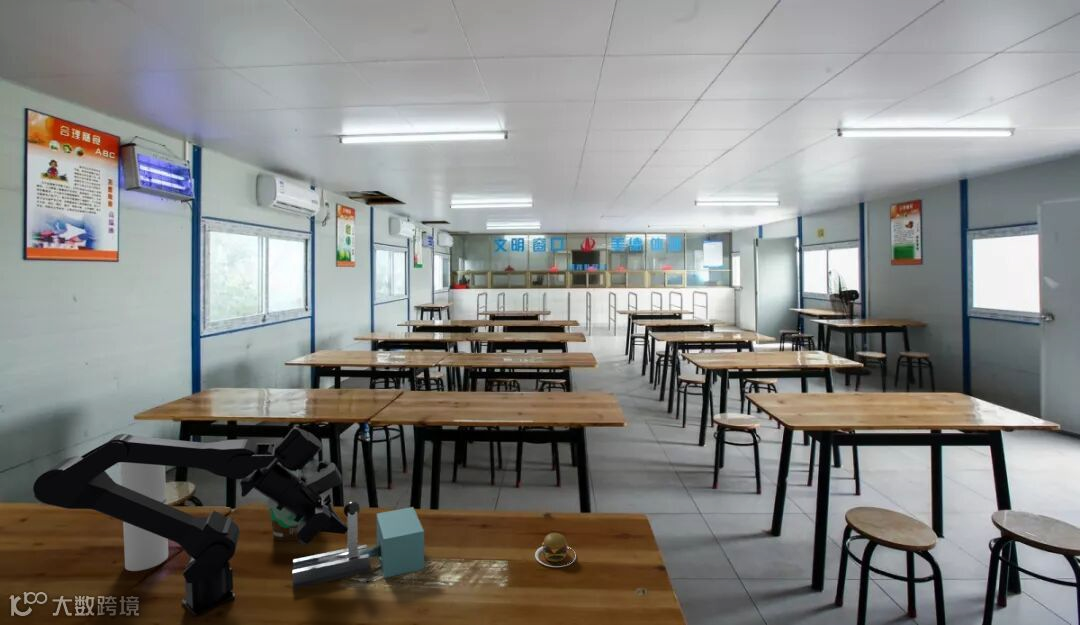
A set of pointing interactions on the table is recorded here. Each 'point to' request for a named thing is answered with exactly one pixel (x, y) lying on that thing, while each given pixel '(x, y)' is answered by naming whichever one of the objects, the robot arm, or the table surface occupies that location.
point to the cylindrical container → (138, 542)
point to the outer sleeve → (327, 568)
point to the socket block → (400, 541)
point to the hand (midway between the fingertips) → (346, 531)
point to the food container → (282, 522)
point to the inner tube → (352, 538)
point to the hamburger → (554, 549)
